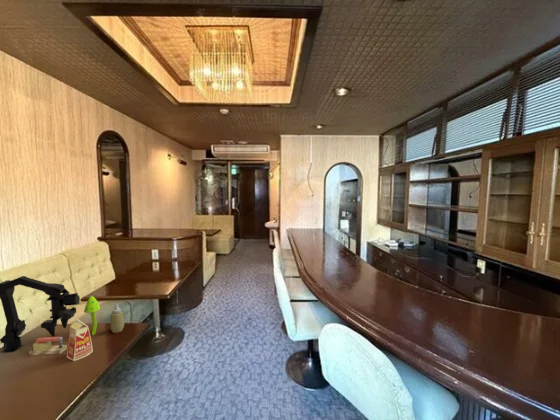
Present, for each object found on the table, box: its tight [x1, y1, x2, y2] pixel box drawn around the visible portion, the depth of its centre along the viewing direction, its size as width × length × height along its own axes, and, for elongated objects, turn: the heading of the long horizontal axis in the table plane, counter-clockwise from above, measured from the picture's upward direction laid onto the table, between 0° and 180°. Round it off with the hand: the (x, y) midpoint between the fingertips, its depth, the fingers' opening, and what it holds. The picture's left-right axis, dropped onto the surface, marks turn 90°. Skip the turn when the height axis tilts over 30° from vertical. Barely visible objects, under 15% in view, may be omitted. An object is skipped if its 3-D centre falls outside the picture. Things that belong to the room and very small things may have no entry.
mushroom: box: [83, 295, 101, 336], centre depth 165 cm, size 8×8×25 cm
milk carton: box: [66, 318, 94, 362], centre depth 144 cm, size 9×9×20 cm
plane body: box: [28, 340, 68, 356], centre depth 148 cm, size 16×5×6 cm, turn 95°
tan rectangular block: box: [32, 341, 53, 351], centre depth 147 cm, size 6×4×4 cm
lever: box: [35, 336, 63, 343], centre depth 148 cm, size 13×2×2 cm, turn 95°
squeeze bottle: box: [109, 303, 125, 334], centre depth 170 cm, size 8×8×18 cm
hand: (59, 331), depth 157 cm, fingers open, 9 cm apart
